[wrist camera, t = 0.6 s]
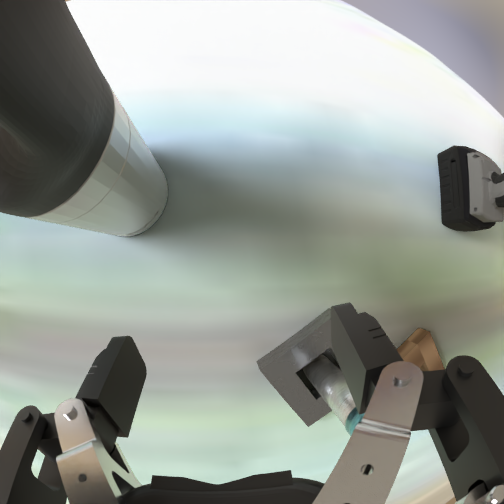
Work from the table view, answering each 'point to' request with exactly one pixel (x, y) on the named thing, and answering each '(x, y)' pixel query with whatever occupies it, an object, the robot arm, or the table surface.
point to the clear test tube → (333, 390)
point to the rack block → (421, 351)
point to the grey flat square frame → (295, 358)
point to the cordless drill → (470, 189)
